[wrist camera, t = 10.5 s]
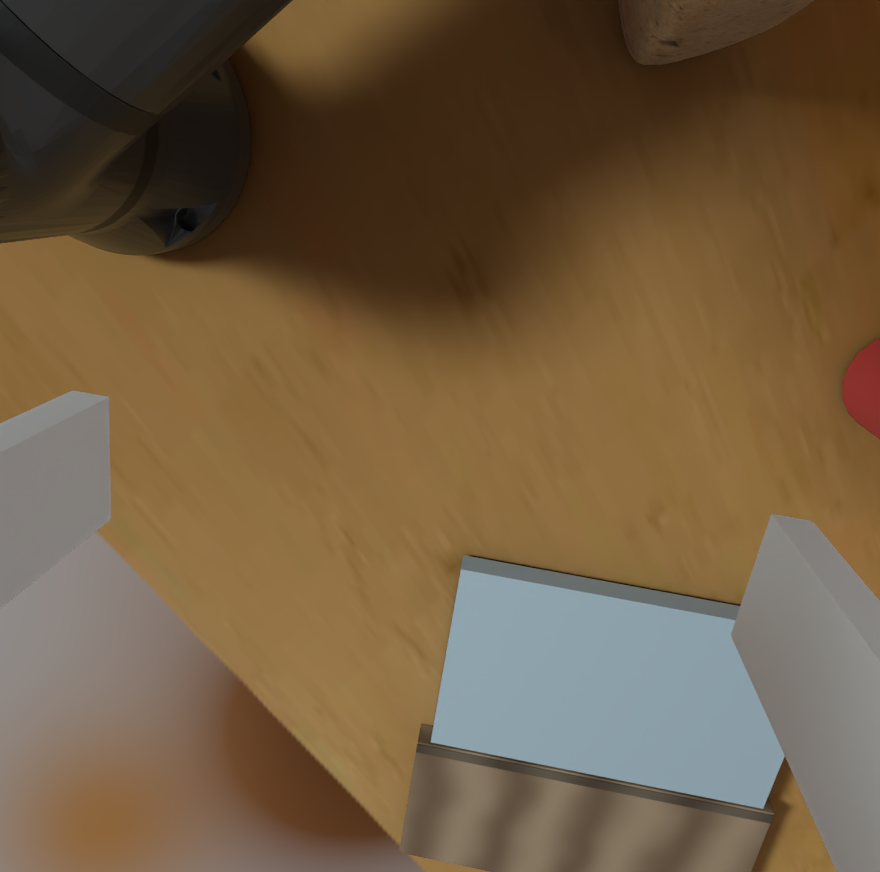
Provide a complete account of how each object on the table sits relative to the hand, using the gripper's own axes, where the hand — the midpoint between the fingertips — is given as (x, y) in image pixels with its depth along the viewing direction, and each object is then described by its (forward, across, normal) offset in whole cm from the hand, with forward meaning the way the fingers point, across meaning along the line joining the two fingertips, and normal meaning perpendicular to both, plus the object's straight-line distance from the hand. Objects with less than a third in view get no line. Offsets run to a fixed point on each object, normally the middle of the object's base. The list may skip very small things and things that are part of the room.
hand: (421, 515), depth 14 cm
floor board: (+35, +14, -42) cm, 56 cm away
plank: (+33, +14, -36) cm, 51 cm away
